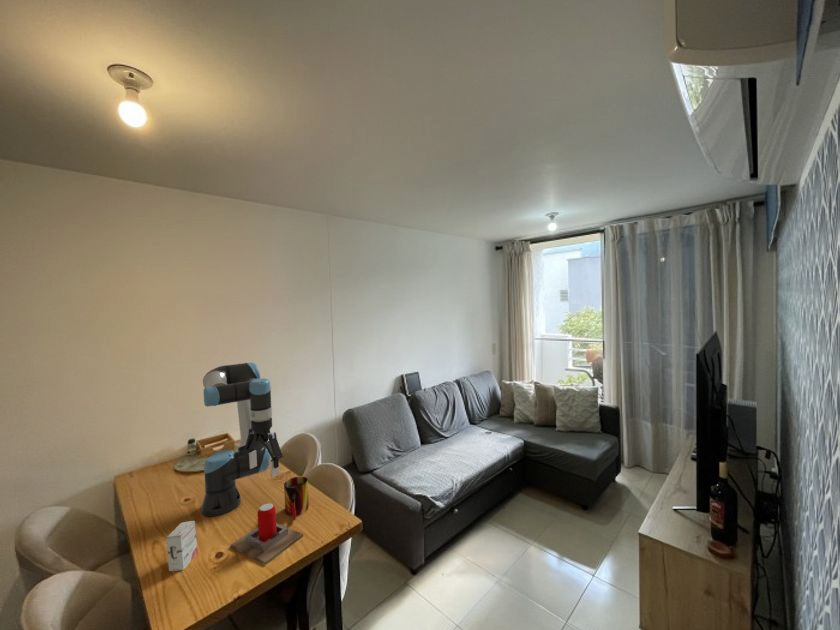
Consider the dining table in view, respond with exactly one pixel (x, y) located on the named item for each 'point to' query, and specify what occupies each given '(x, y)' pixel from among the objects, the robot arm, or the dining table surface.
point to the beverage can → (266, 522)
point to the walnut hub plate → (271, 552)
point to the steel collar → (264, 546)
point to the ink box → (181, 546)
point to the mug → (296, 496)
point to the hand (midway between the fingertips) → (264, 471)
